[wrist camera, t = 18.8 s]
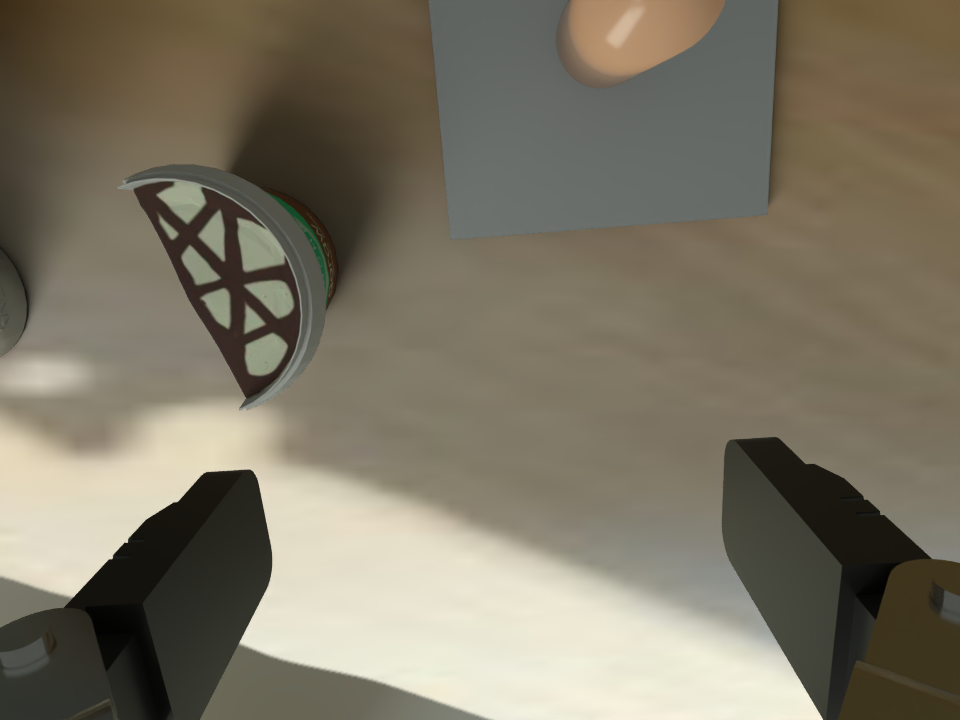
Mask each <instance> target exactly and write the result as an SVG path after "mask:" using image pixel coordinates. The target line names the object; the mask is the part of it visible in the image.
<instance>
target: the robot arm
mask: <svg viewBox="0 0 960 720" xmlns="http://www.w3.org/2000/svg"><path fill="white" fill-rule="evenodd" d="M26 314H27V302H26V297H25V291H24V287H23V285H22V282H21V280H20V277H19V275H18V272H17V271H16V269H15V267H14V266H13V264H12V263H11V261H10V260H9V258H8V257H7V256H6V255H5V253H4V252H3V251H2V250H1V249H0V357H1V356H2V355H4V354H6V353H7V352H8V351H9V350H10V349H11V348H12V347H13V346H14V345H15V344H16V343H17V341H18V339H19V337H20V336H21V334H22V332H23V329H24V325H25V322H26ZM722 534H723V541H724V545H725V549H726V553H727V556H728V558H729V560H730V562H731V564H732V566H733V568H734V569H735V571H736V573H737V574H738V576H739V578H740V579H741V581H742V583H743V584H744V586H745V588H746V590H747V591H748V593H749V595H750V596H751V598H752V600H753V601H754V603H755V605H756V606H757V608H758V610H759V612H760V613H761V615H762V617H763V618H764V620H765V622H766V623H767V625H768V627H769V628H770V630H771V632H772V634H773V635H774V637H775V639H776V640H777V642H778V644H779V645H780V647H781V649H782V650H783V652H784V654H785V656H786V657H787V659H788V661H789V662H790V664H791V666H792V667H793V669H794V671H795V672H796V674H797V676H798V678H799V679H800V681H801V683H802V684H803V686H804V688H805V689H806V691H807V693H808V694H809V696H810V698H811V700H812V701H813V703H814V705H815V706H816V708H817V710H818V711H819V713H820V715H821V716H822V718H823V720H960V563H957V562H952V561H946V560H937V559H932V558H931V557H929V556H928V555H927V554H926V553H925V552H924V551H923V550H922V549H921V548H920V547H919V546H917V545H916V544H915V543H914V542H913V541H912V540H911V539H910V538H909V537H908V536H906V535H905V534H904V533H903V532H902V531H901V530H900V529H899V528H898V527H897V526H896V525H894V524H893V523H892V522H891V521H890V520H889V519H888V518H887V517H886V516H885V515H880V511H879V510H878V509H877V508H876V507H875V506H874V505H873V504H871V503H870V502H869V501H868V500H864V498H863V495H862V494H861V493H859V492H858V491H857V490H856V489H855V488H854V487H853V486H852V485H851V484H850V483H849V482H847V481H846V480H845V479H844V478H842V477H840V476H838V475H836V474H834V473H832V472H830V471H828V470H826V469H824V468H822V467H820V466H818V465H816V464H805V463H804V462H803V461H802V460H801V459H800V458H799V457H798V456H797V455H796V454H795V453H794V452H793V451H792V450H791V449H790V448H788V447H787V446H786V445H785V444H784V443H783V442H782V441H781V440H780V439H779V438H777V437H768V438H752V439H736V440H730V441H729V442H728V443H727V445H726V448H725V456H724V480H723V505H722ZM271 571H272V550H271V544H270V539H269V534H268V529H267V524H266V519H265V514H264V509H263V504H262V499H261V494H260V488H259V484H258V480H257V477H256V475H255V474H254V472H253V471H252V470H234V471H218V472H206V473H204V474H203V475H202V476H201V477H200V478H199V479H198V480H197V481H196V482H195V483H194V485H193V486H192V487H191V488H190V489H189V490H188V491H187V492H186V494H185V495H184V496H183V497H182V498H181V499H180V500H179V501H178V502H175V503H172V504H171V505H169V506H167V507H166V508H164V509H163V510H161V511H159V512H158V513H156V514H155V515H153V516H151V517H150V518H148V519H147V520H145V522H144V523H143V524H142V525H141V526H140V527H139V528H138V529H137V530H136V531H135V532H134V533H133V534H132V535H131V537H130V538H129V539H128V543H124V544H123V545H122V546H121V547H120V548H119V549H118V550H117V551H116V553H115V554H114V555H113V559H109V560H108V561H107V562H106V563H105V564H104V565H103V566H102V567H101V569H100V570H99V571H98V572H97V573H96V574H95V575H94V576H93V577H92V578H91V579H90V580H89V581H88V582H87V584H86V585H85V586H84V587H83V588H82V589H81V590H80V591H79V592H78V593H77V594H76V595H75V596H74V597H73V598H72V600H71V601H70V602H69V603H68V604H67V605H66V606H65V607H64V608H58V609H57V608H56V609H51V610H45V611H41V612H37V613H34V614H31V615H28V616H25V617H22V618H20V619H18V620H15V621H13V622H11V623H9V624H7V625H5V626H3V627H1V628H0V720H200V718H201V716H202V714H203V712H204V710H205V708H206V706H207V705H208V703H209V701H210V698H211V697H212V695H213V693H214V691H215V689H216V687H217V685H218V683H219V681H220V679H221V677H222V675H223V673H224V671H225V669H226V667H227V665H228V663H229V661H230V660H231V658H232V655H233V654H234V652H235V650H236V648H237V646H238V644H239V642H240V640H241V638H242V636H243V634H244V632H245V630H246V628H247V626H248V624H249V622H250V620H251V618H252V616H253V614H254V613H255V611H256V609H257V607H258V605H259V603H260V601H261V599H262V597H263V595H264V593H265V591H266V589H267V587H268V584H269V581H270V577H271Z"/></svg>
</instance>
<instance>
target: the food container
mask: <svg viewBox="0 0 960 720" xmlns="http://www.w3.org/2000/svg"><path fill="white" fill-rule="evenodd" d="M123 183H124V185H122V186H119V187H118V189H126V190H134V192H135V194H136V196H137V198H138V200H139V203H140V205H141V207H142V208H143V209H144V211H145V212H146V214H147V215H148V217H149V219H150V220H151V222H152V224H153V226H154V228H155V230H156V232H157V234H158V235H159V237H160V239H161V241H162V243H163V245H164V247H165V249H166V251H167V253H168V255H169V257H170V259H171V262H172V264H173V266H174V268H175V271H176V273H177V275H178V277H179V280H180V282H181V284H182V286H183V288H184V290H185V292H186V294H187V297H188V299H189V301H190V302H191V304H192V306H193V307H194V309H195V311H196V312H197V314H198V315H199V317H200V319H201V320H202V322H203V323H204V325H205V326H206V328H207V329H208V331H209V332H210V334H211V336H212V337H213V339H214V341H215V342H216V344H217V345H218V347H219V349H220V351H221V353H222V354H223V356H224V358H225V360H226V362H227V364H228V365H229V367H230V369H231V371H232V373H233V375H234V376H235V378H236V380H237V382H238V384H239V386H240V388H241V389H242V391H243V393H244V395H245V397H246V399H245V401H244V402H243V404H242V405H241V407H240V408H239V410H242V409H244V408H246V409H247V410H249V409H251V408H253V407H256V406H258V405H260V404H262V403H264V402H266V401H268V400H270V399H272V398H274V397H276V396H277V395H278V394H280V393H281V392H283V391H284V390H285V389H287V388H288V387H289V386H290V385H291V384H292V383H293V382H294V381H295V380H296V379H297V378H298V377H299V376H300V375H301V374H302V373H303V371H304V370H305V368H306V367H307V366H308V364H309V363H310V361H311V360H312V358H313V356H314V353H315V351H316V349H317V347H318V345H319V342H320V338H321V335H322V331H323V327H324V321H325V311H326V309H327V307H328V305H329V303H330V301H331V299H332V297H333V295H334V293H335V289H336V281H337V274H338V264H337V258H336V252H335V248H334V245H333V242H332V240H331V237H330V235H329V233H328V232H327V230H326V228H325V226H324V225H323V224H322V222H321V221H320V220H319V219H318V217H317V216H316V215H315V214H314V213H313V212H312V211H311V210H310V209H309V208H307V207H306V206H305V205H303V204H302V203H301V202H299V201H298V200H296V199H294V198H292V197H290V196H288V195H286V194H284V193H281V192H278V191H275V190H272V189H265V188H259V187H257V186H256V185H254V184H252V183H250V182H248V181H246V180H244V179H242V178H241V177H239V176H237V175H234V174H231V173H228V172H225V171H222V170H219V169H216V168H211V167H205V166H199V165H167V166H161V167H155V168H151V169H148V170H145V171H142V172H139V173H136V174H134V175H132V176H130V177H128V178H126V179H124V180H123Z"/></svg>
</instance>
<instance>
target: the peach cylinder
mask: <svg viewBox="0 0 960 720" xmlns="http://www.w3.org/2000/svg"><path fill="white" fill-rule="evenodd" d="M725 1H726V0H568V2H567V4H566V6H565V8H564V10H563V12H562V14H561V17H560V19H559V23H558V26H557V32H556V46H557V52H558V55H559V58H560V61H561V63H562V65H563V67H564V68H565V70H566V71H567V72H568V73H569V75H570V76H571V77H572V78H574V79H575V80H576V81H578V82H579V83H581V84H583V85H585V86H588V87H592V88H610V87H614V86H617V85H619V84H621V83H623V82H625V81H627V80H629V79H631V78H633V77H635V76H637V75H639V74H641V73H643V72H645V71H646V70H648V69H650V68H652V67H654V66H656V65H658V64H660V63H662V62H664V61H666V60H668V59H670V58H672V57H673V56H675V55H677V54H679V53H681V52H683V51H685V50H687V49H688V48H690V47H692V46H693V45H694V44H696V43H697V42H698V41H699V40H701V39H702V38H703V37H704V36H705V35H706V34H707V33H708V31H709V30H710V29H711V27H712V26H713V25H714V23H715V22H716V20H717V18H718V17H719V15H720V13H721V11H722V9H723V7H724V4H725Z"/></svg>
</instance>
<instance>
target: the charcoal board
mask: <svg viewBox="0 0 960 720" xmlns="http://www.w3.org/2000/svg"><path fill="white" fill-rule="evenodd" d="M428 1H429V12H430V22H431V33H432V44H433V55H434V66H435V76H436V87H437V98H438V109H439V120H440V130H441V141H442V152H443V163H444V173H445V184H446V195H447V206H448V217H449V227H450V238H451V240H453V239H466V238H479V237H492V236H505V235H517V234H530V233H543V232H556V231H569V230H581V229H594V228H607V227H620V226H633V225H645V224H658V223H671V222H684V221H697V220H709V219H722V218H735V217H748V216H761V215H767V213H768V193H769V174H770V154H771V135H772V115H773V96H774V76H775V57H776V37H777V18H778V0H726V1H725V4H724V7H723V9H722V11H721V13H720V15H719V17H718V18H717V20H716V22H715V23H714V25H713V26H712V27H711V29H710V30H709V31H708V33H707V34H706V35H705V36H704V37H703V38H702V39H701V40H699V41H698V42H697V43H696V44H694V45H693V46H692V47H690V48H688V49H687V50H685V51H683V52H681V53H679V54H677V55H675V56H673V57H672V58H670V59H668V60H666V61H664V62H662V63H660V64H658V65H656V66H654V67H652V68H650V69H648V70H646V71H645V72H643V73H641V74H639V75H637V76H635V77H633V78H631V79H629V80H627V81H625V82H623V83H621V84H619V85H617V86H614V87H610V88H592V87H588V86H585V85H583V84H581V83H579V82H578V81H576V80H575V79H574V78H572V77H571V76H570V75H569V73H568V72H567V71H566V70H565V68H564V67H563V65H562V63H561V61H560V58H559V55H558V52H557V46H556V32H557V26H558V23H559V19H560V17H561V14H562V12H563V10H564V8H565V6H566V4H567V2H568V0H428Z"/></svg>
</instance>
